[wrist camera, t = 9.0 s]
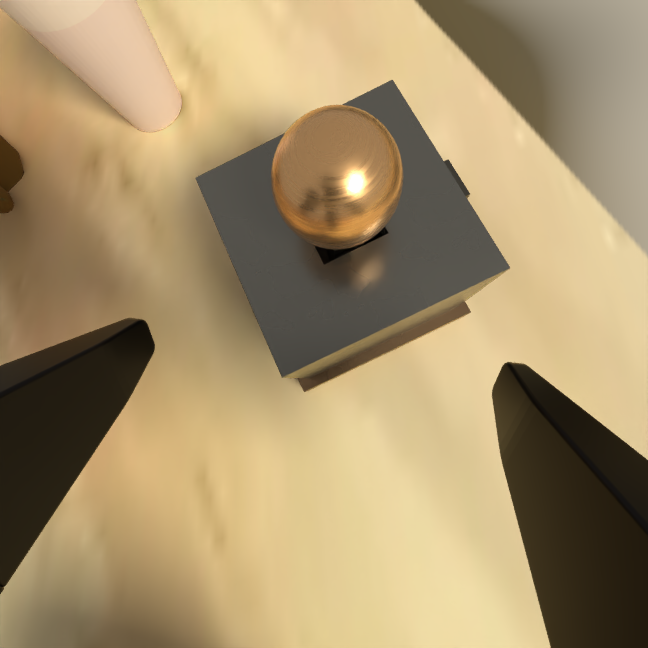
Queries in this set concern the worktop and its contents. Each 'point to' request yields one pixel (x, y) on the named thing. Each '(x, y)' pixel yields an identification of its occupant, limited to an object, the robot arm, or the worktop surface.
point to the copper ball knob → (337, 179)
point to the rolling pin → (8, 174)
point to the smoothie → (106, 54)
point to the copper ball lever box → (354, 257)
